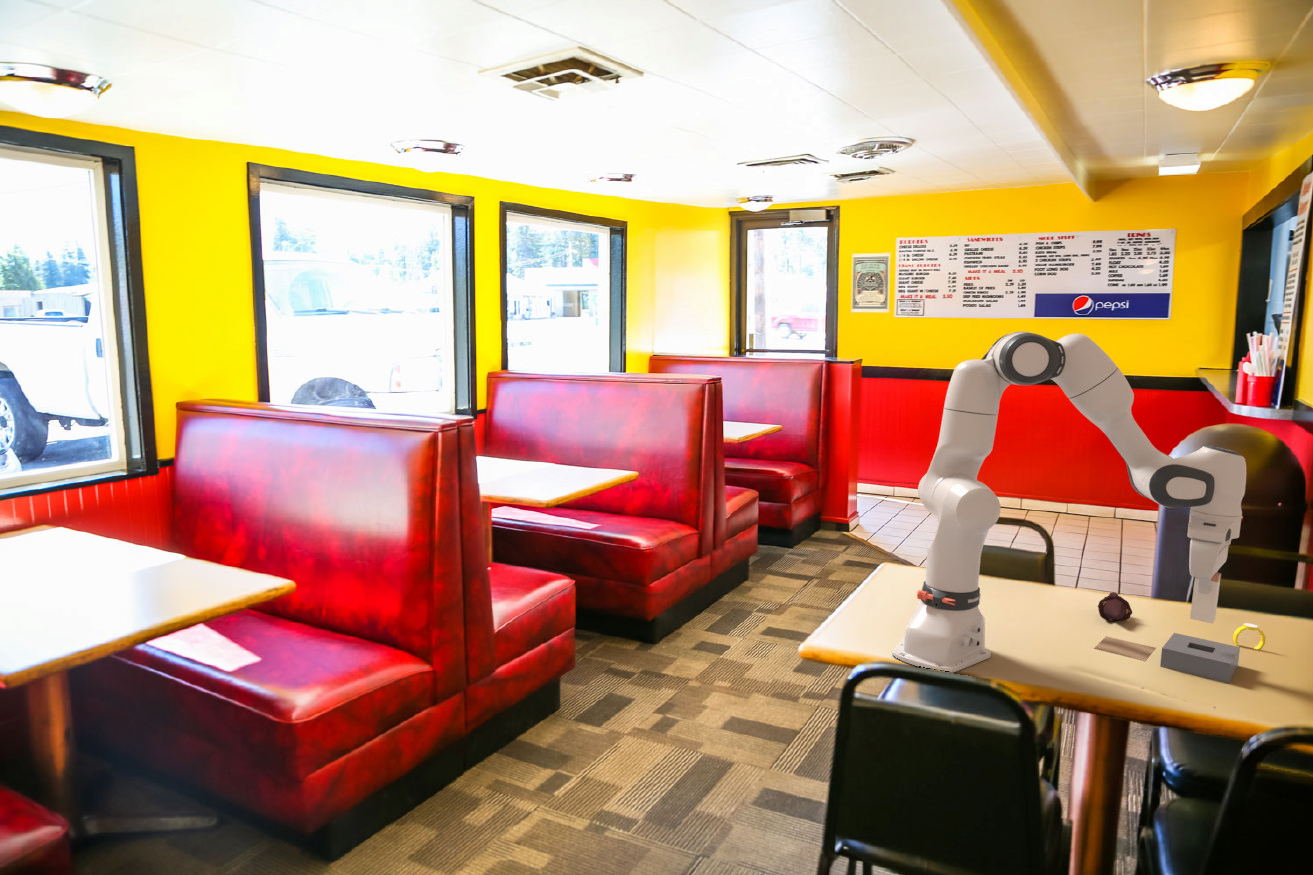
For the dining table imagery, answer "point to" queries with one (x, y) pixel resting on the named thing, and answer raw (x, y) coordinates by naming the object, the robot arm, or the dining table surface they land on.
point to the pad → (1125, 648)
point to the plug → (1205, 601)
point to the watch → (1250, 627)
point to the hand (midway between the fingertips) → (1205, 590)
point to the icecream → (1114, 608)
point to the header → (1200, 657)
